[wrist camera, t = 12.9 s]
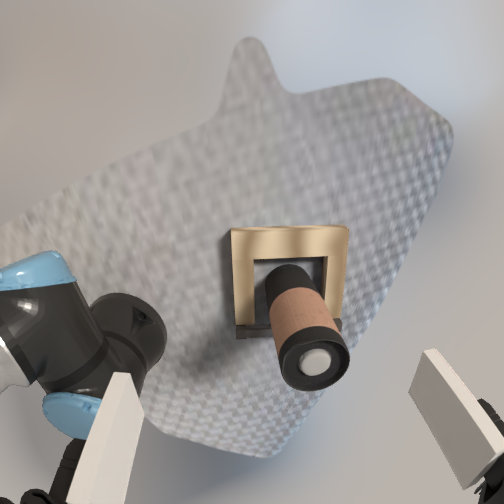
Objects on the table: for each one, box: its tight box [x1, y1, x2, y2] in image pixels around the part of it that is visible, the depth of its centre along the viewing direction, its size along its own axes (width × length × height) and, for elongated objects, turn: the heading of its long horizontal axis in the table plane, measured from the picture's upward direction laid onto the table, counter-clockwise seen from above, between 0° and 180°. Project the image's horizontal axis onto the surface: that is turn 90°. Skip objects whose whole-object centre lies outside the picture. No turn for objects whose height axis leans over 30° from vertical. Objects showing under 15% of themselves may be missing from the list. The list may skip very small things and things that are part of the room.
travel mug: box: [265, 264, 350, 391], centre depth 40 cm, size 8×8×20 cm
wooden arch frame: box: [231, 225, 349, 339], centre depth 47 cm, size 17×17×4 cm
